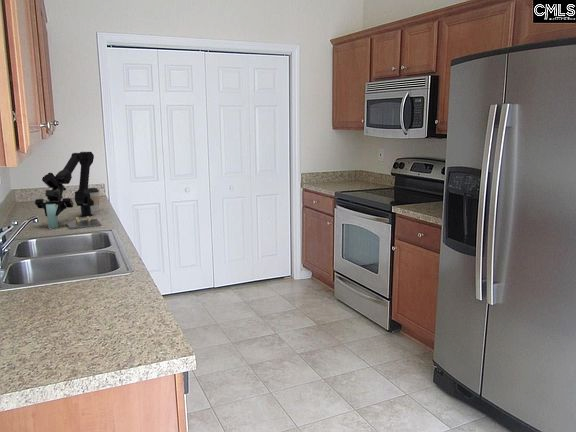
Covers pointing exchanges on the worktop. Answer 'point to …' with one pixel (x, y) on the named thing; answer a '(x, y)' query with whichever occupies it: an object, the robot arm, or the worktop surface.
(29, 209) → the worktop surface
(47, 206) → the post
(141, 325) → the worktop surface
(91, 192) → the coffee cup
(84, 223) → the metal base plate
